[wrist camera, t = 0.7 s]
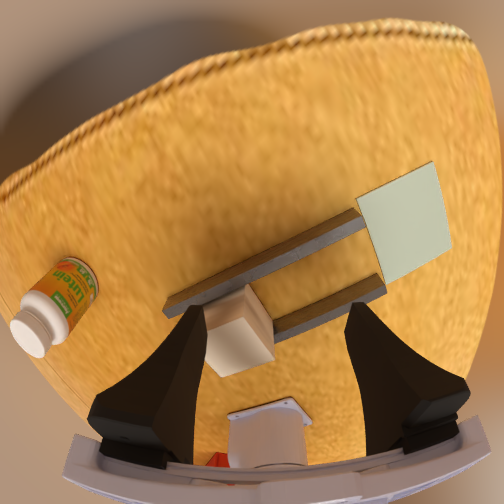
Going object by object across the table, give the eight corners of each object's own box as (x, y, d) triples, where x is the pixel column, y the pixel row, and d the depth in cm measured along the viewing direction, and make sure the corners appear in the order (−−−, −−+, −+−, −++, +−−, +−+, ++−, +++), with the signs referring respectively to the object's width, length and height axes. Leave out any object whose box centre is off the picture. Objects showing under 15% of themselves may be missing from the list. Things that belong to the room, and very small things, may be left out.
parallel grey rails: (213, 352, 28) (211, 366, 26) (167, 298, 25) (161, 310, 23) (379, 281, 24) (387, 293, 22) (353, 207, 21) (361, 215, 19)
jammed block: (226, 338, 27) (221, 377, 22) (196, 302, 25) (185, 339, 20) (272, 320, 25) (275, 359, 21) (245, 279, 24) (243, 316, 19)
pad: (385, 283, 24) (386, 284, 24) (355, 198, 21) (356, 199, 21) (450, 247, 22) (451, 247, 22) (432, 161, 19) (433, 161, 19)
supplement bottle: (106, 278, 24) (56, 345, 16) (90, 310, 26) (47, 373, 17) (66, 245, 23) (5, 299, 14) (53, 280, 25) (3, 335, 16)
